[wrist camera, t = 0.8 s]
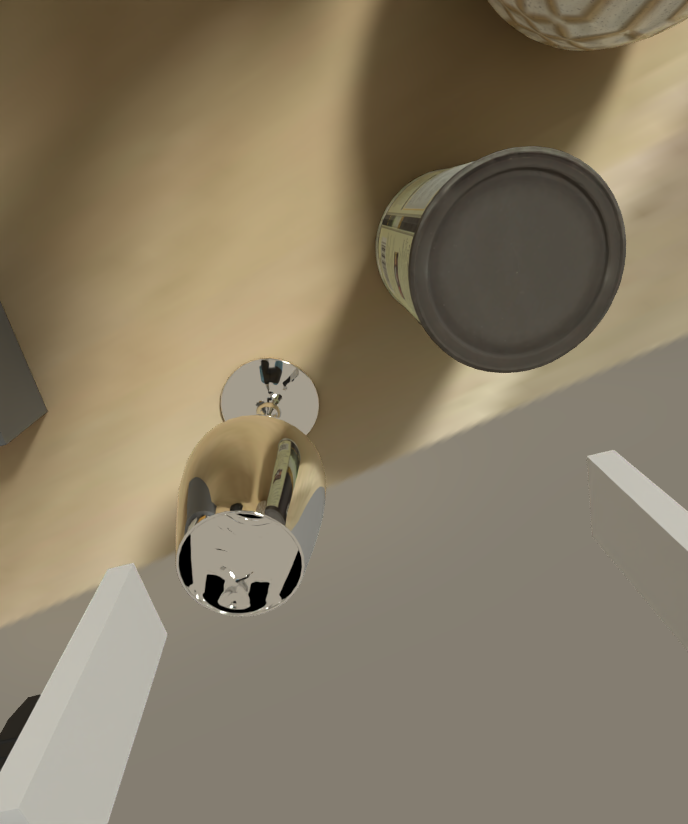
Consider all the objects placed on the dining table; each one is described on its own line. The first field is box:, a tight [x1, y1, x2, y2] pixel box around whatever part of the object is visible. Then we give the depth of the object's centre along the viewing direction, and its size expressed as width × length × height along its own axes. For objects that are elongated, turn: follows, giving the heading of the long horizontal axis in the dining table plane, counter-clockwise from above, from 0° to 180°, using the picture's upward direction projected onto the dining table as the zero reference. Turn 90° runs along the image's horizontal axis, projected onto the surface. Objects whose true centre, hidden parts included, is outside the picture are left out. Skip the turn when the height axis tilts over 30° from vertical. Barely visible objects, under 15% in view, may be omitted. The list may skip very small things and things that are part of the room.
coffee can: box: [376, 146, 626, 373], centre depth 32 cm, size 10×10×14 cm
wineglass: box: [176, 357, 326, 617], centre depth 32 cm, size 8×8×20 cm
